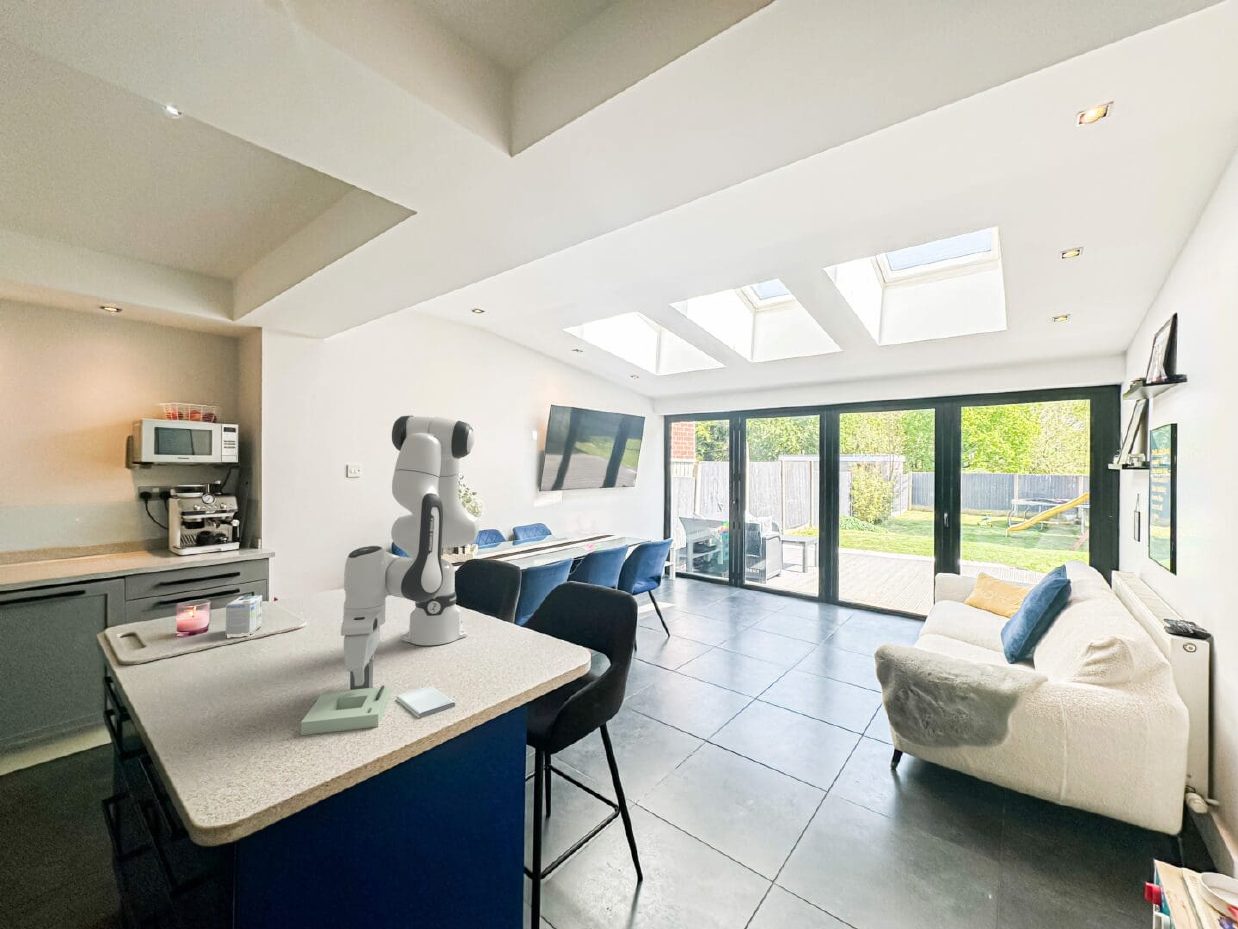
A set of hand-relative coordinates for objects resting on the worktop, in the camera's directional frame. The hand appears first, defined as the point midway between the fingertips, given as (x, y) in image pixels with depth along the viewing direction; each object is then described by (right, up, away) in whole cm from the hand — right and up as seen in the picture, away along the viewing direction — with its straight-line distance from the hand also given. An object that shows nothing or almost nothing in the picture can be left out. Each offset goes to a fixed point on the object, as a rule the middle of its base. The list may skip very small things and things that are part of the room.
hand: (364, 676), depth 119 cm
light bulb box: (-61, -5, +45) cm, 76 cm away
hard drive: (+16, -5, -4) cm, 17 cm away
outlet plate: (+2, -4, -10) cm, 11 cm away
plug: (-1, -4, 0) cm, 4 cm away
